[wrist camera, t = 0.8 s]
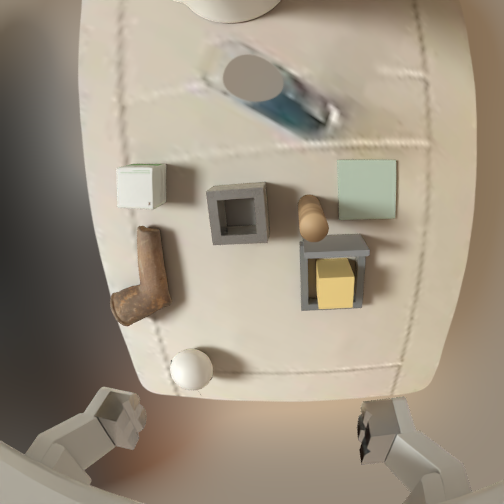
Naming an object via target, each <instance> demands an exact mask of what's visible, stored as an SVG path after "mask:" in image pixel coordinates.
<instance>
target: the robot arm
mask: <svg viewBox="0 0 504 504" xmlns="http://www.w3.org/2000/svg"><path fill="white" fill-rule="evenodd" d="M173 1H176V2H179V3H183V4H185V5H187V6H188V7H189V8H190V9H191V10H192V11H193V12H195V13H196V14H197V15H199V16H201V17H203V18H205V19H207V20H210V21H214V22H220V23H237V22H243V21H248V20H251V19H254V18H257V17H259V16H261V15H263V14H265V13H267V12H268V11H270V10H271V9H273V8H274V7H275V6H276V5H277V4H278V3H279V2H280V1H281V0H173ZM139 401H140V398H139V396H138V394H135V393H131V392H126V391H121V390H116V389H112V388H106V387H102V388H101V389H100V390H99V391H98V392H97V394H96V396H95V397H94V398H93V400H92V402H91V403H90V404H89V406H88V407H87V409H86V411H85V412H84V413H80V414H78V415H76V416H74V417H72V418H70V419H68V420H66V421H64V422H62V423H61V424H59V425H57V426H55V427H53V428H51V429H49V430H47V431H45V432H43V433H41V434H39V435H38V436H37V438H36V439H35V441H34V442H33V444H32V445H31V447H30V448H29V450H28V451H27V452H26V454H25V455H24V454H22V453H21V452H19V451H17V450H15V449H14V448H11V447H10V446H9V445H7V444H5V443H4V442H2V441H0V504H146V503H142V502H139V501H135V500H132V499H128V498H125V497H122V496H119V495H115V494H113V493H110V492H107V491H104V490H101V489H99V488H96V487H93V486H91V485H89V484H90V482H91V478H90V477H89V476H88V474H87V473H86V472H85V471H84V470H85V469H86V468H88V467H89V466H90V465H92V464H93V463H94V462H96V461H97V460H98V459H100V458H101V457H102V456H103V455H105V454H106V453H108V452H109V451H110V450H112V449H113V448H114V447H115V446H118V447H123V448H127V449H132V450H133V449H134V448H135V445H136V443H137V441H138V439H139V436H138V432H140V431H141V430H143V428H144V426H145V424H146V411H145V409H144V407H143V406H141V405H140V404H139ZM361 413H362V414H361V415H360V416H359V418H358V425H357V433H358V440H359V441H360V442H361V447H360V458H361V465H364V464H373V463H383V462H385V465H386V466H387V467H388V468H389V469H390V470H391V471H392V472H393V474H394V475H395V476H396V477H397V478H398V479H399V480H400V481H401V482H402V483H403V485H404V486H405V487H406V488H407V489H408V490H409V491H410V492H411V493H410V495H409V496H408V497H407V498H406V500H405V501H404V502H403V504H504V480H502V481H500V482H497V483H495V484H493V485H490V486H488V487H485V488H482V489H480V490H477V491H474V492H472V490H471V487H470V483H469V480H468V477H467V473H466V470H465V467H464V464H463V463H462V462H460V461H459V460H458V459H457V458H455V457H454V456H453V455H451V454H450V453H448V452H447V451H446V450H444V449H443V448H442V447H441V446H439V445H438V444H437V443H436V442H434V441H433V440H431V439H430V438H429V437H428V436H426V435H425V434H424V433H423V432H421V431H416V429H415V426H414V422H413V419H412V416H411V413H410V409H409V407H408V403H407V400H406V398H405V397H397V398H391V399H390V398H388V399H380V400H371V401H363V403H362V405H361Z"/></svg>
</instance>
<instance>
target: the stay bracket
mask: <svg viewBox="0 0 504 504" xmlns="http://www.w3.org/2000/svg"><path fill="white" fill-rule="evenodd" d="M206 195H207V203H208V211H209V219H210V226H211V233H212V241H213V245H227V244H249V243H268V238H269V234H270V230H269V217H268V205H267V192H266V182H258V183H243V184H231V185H219V186H213V187H212V188H210V189H209V190H208V191H206ZM242 198H254V204H255V215H256V225H244V226H227V221H226V213H225V204H224V200H228V199H242Z"/></svg>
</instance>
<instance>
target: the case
mask: <svg viewBox="0 0 504 504" xmlns="http://www.w3.org/2000/svg"><path fill="white" fill-rule="evenodd" d="M299 244H300V272H301V311H307V310H331V309H319V307H318V298H308V259H309V258H334V257H356V266H355V285H354V296H353V308H362V300H363V288H364V274H365V256H369V253H370V250H369V248H368V246H367V245H366V243H365V241H364V240H363V238H362V236H361V235H360V234H342V235H326V237H325V238H324V239H323V240H321V241H319V242H309V241H307V240H305V239H304V238H303V242H299ZM334 309H350V308H334Z"/></svg>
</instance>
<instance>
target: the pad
mask: <svg viewBox="0 0 504 504" xmlns="http://www.w3.org/2000/svg"><path fill="white" fill-rule="evenodd" d="M337 166H338V196H339V220H354V219H392V218H395V209H396V160H337Z"/></svg>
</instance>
